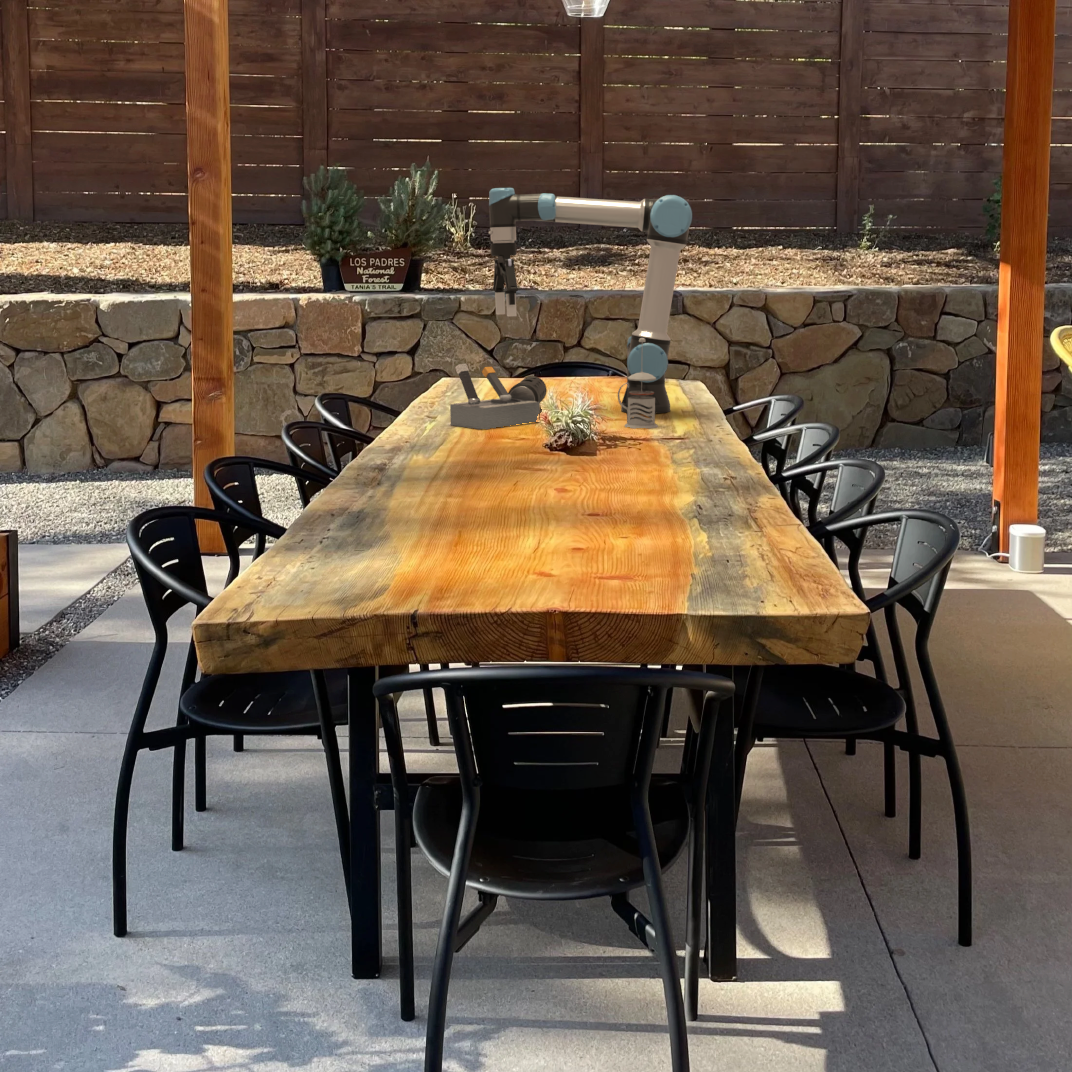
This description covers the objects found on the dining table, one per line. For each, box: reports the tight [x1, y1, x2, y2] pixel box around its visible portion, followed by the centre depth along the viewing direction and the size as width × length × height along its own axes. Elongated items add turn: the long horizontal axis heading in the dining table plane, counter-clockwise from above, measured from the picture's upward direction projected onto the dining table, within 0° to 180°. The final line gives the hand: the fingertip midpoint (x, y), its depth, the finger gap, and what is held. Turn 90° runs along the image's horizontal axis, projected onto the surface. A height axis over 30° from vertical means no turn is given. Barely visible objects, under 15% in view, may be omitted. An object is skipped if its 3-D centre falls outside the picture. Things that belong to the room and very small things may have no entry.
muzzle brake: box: [507, 375, 548, 403], centre depth 418 cm, size 10×28×10 cm, turn 174°
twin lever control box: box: [449, 363, 541, 430], centre depth 391 cm, size 22×14×18 cm, turn 133°
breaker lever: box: [481, 366, 511, 401], centre depth 396 cm, size 3×2×12 cm
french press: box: [617, 338, 659, 430], centre depth 384 cm, size 10×12×25 cm
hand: (506, 315), depth 404 cm, fingers open, 13 cm apart
